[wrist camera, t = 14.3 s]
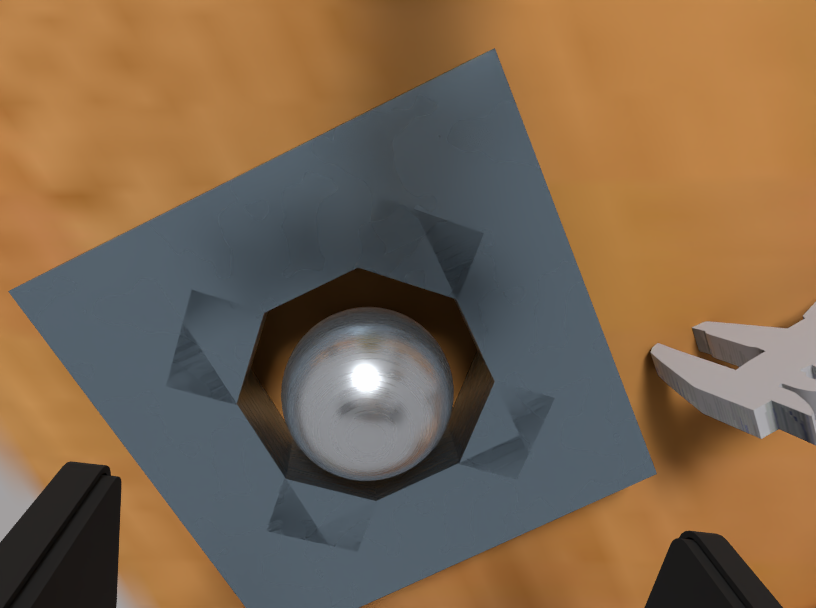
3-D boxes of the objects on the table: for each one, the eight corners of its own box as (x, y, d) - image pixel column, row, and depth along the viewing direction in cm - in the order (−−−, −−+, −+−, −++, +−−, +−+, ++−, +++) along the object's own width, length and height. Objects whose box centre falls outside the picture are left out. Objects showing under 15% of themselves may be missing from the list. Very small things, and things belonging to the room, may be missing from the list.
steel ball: (302, 273, 18) (281, 332, 14) (456, 298, 19) (486, 363, 14) (283, 412, 20) (257, 508, 15) (425, 431, 20) (444, 529, 16)
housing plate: (55, 267, 17) (8, 291, 15) (474, 57, 17) (494, 48, 14) (282, 588, 22) (274, 645, 20) (622, 433, 21) (657, 473, 19)
